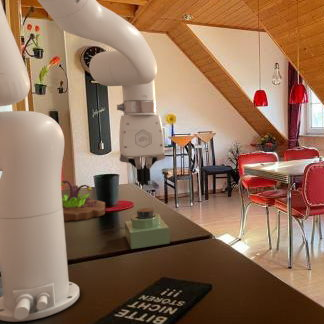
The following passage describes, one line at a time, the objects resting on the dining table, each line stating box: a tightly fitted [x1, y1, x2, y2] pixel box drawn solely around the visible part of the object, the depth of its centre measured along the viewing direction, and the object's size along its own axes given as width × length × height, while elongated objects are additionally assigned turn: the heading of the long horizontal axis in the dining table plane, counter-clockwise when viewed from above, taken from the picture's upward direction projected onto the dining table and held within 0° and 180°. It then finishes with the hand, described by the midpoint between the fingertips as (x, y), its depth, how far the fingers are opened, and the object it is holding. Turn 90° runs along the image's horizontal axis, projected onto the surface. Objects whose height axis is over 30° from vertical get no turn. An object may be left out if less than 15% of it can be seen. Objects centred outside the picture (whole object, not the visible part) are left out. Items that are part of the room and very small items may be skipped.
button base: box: [124, 212, 171, 250], centre depth 96 cm, size 11×9×6 cm
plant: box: [61, 180, 106, 222], centre depth 125 cm, size 20×20×11 cm
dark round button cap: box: [136, 207, 155, 219], centre depth 96 cm, size 4×4×2 cm
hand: (143, 184), depth 95 cm, fingers closed
